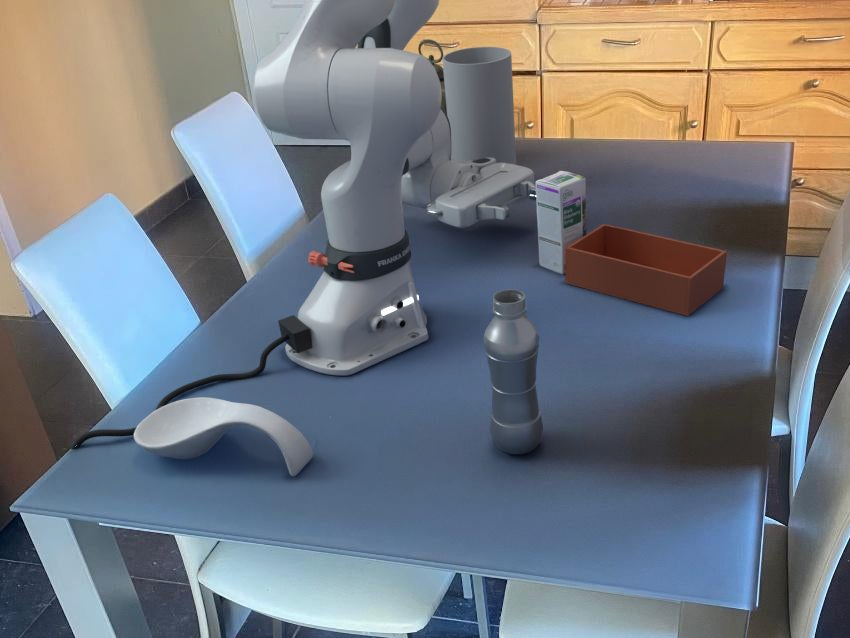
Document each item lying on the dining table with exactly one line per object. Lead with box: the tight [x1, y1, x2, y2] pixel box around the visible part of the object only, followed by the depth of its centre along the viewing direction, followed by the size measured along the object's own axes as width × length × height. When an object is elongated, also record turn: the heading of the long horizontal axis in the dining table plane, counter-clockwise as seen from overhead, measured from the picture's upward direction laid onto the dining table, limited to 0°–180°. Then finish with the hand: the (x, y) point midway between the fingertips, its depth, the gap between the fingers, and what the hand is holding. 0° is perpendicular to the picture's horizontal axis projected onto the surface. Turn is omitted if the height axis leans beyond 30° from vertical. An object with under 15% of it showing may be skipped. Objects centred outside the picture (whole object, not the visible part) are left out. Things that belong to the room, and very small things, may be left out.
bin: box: [565, 223, 728, 317], centre depth 145 cm, size 22×11×6 cm, turn 51°
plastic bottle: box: [483, 288, 544, 455], centre depth 109 cm, size 6×7×20 cm
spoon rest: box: [133, 396, 314, 477], centre depth 117 cm, size 24×12×7 cm, turn 68°
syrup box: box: [535, 170, 587, 275], centre depth 151 cm, size 6×6×14 cm
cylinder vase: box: [441, 46, 517, 165], centre depth 176 cm, size 12×12×25 cm
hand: (523, 203), depth 153 cm, fingers open, 8 cm apart
